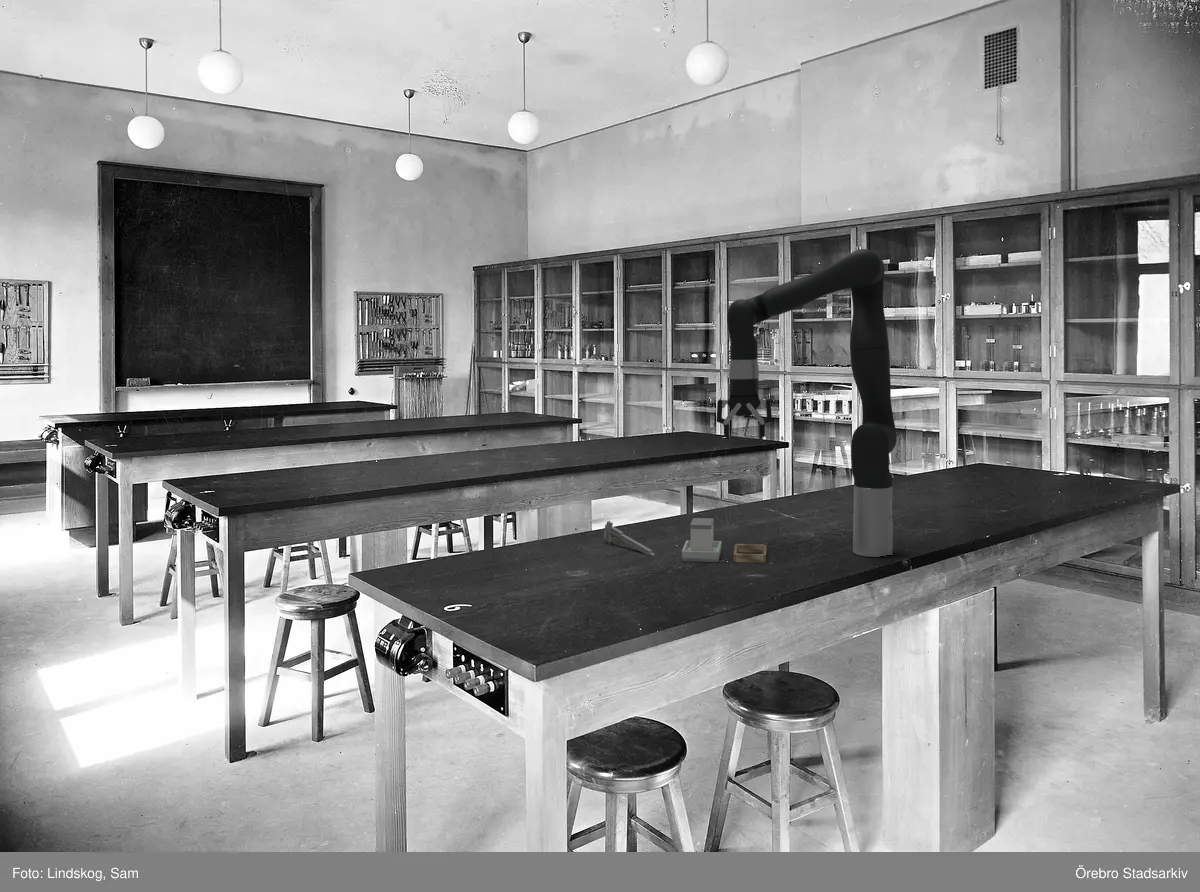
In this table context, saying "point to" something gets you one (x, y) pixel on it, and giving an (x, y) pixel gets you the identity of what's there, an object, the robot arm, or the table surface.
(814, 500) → the table surface
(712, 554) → the tray
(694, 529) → the gray rectangular box
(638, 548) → the caliper
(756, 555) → the holder
